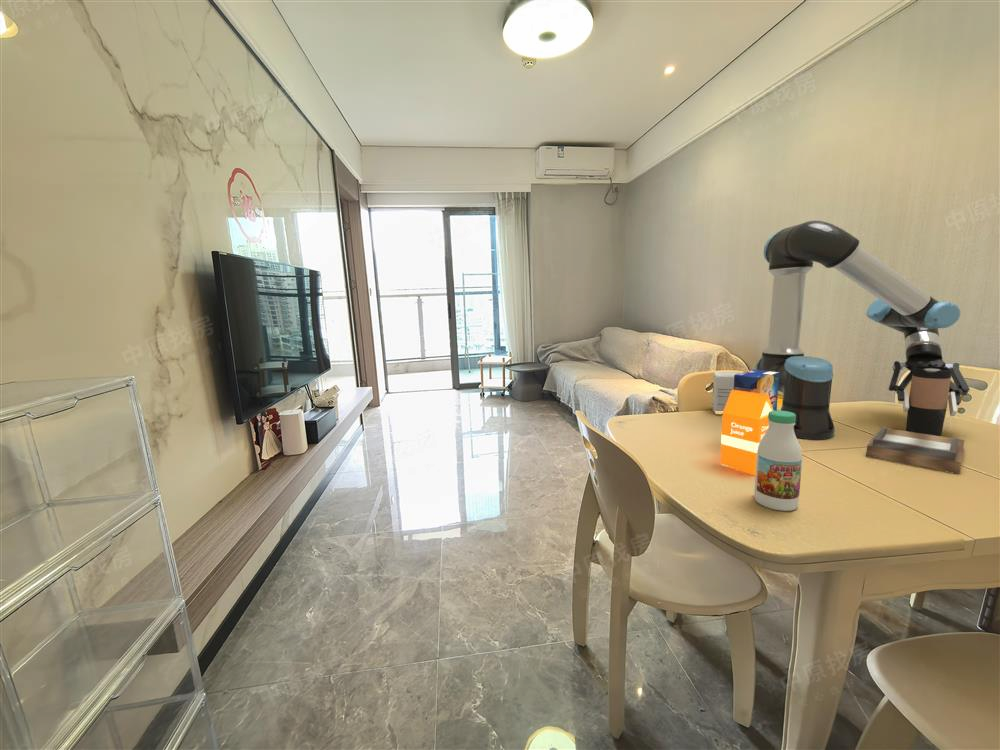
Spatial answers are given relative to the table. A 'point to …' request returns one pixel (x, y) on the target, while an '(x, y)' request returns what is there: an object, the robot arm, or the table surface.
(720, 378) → the supplement box
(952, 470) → the dock
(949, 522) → the table surface
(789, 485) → the milk bottle
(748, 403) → the orange juice
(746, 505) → the table surface
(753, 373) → the beverage box
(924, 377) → the travel mug
